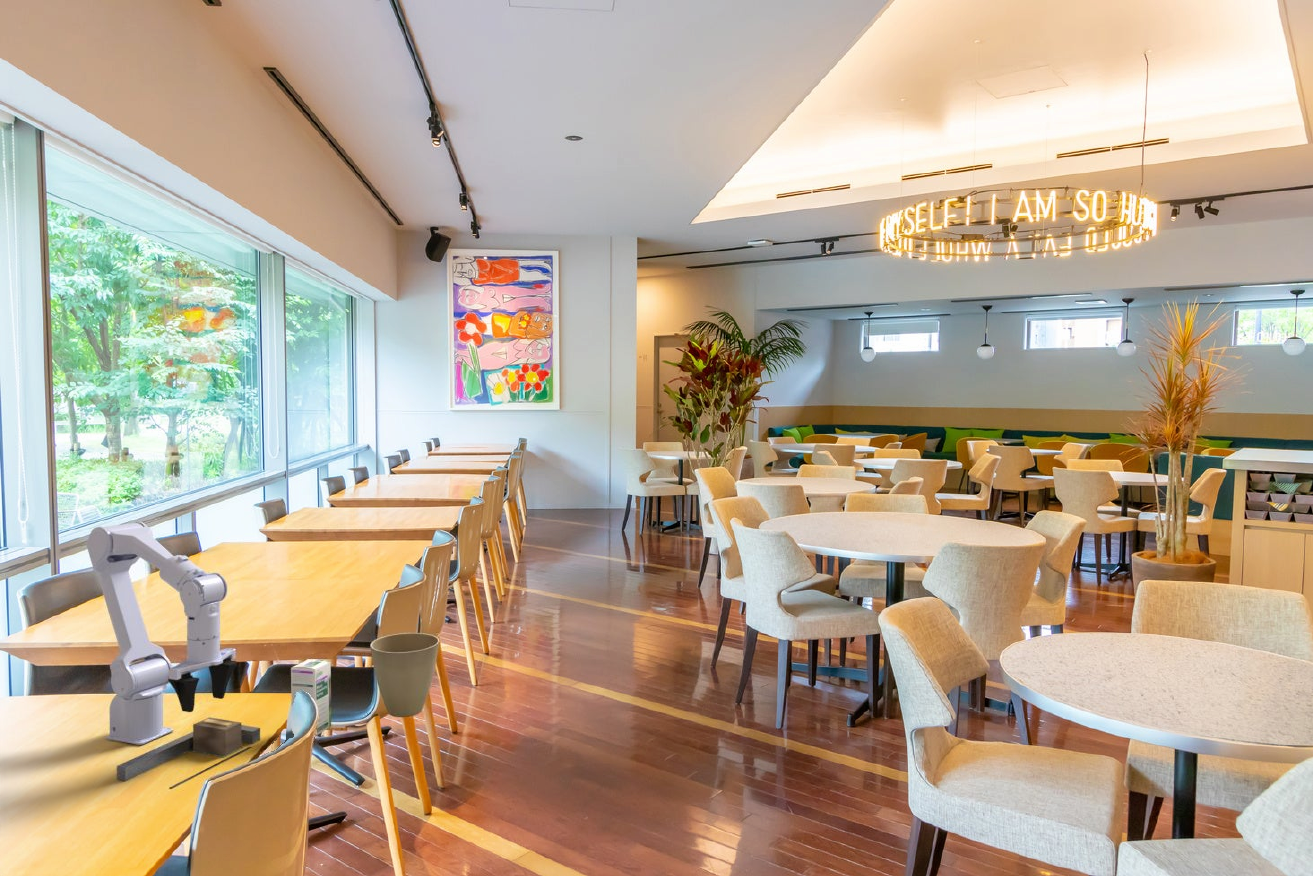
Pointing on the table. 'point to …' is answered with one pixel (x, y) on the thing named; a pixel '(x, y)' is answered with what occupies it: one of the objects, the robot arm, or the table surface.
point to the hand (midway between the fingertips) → (203, 704)
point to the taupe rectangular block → (217, 736)
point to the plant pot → (404, 670)
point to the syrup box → (314, 687)
